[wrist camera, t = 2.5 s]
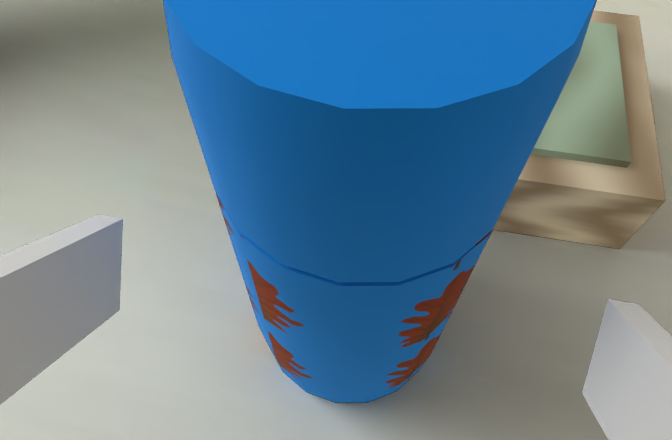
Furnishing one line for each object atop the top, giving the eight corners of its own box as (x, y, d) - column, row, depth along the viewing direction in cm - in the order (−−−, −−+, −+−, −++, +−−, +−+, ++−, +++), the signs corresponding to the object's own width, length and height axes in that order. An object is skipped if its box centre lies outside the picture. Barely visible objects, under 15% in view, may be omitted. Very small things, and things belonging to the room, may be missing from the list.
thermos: (428, 241, 38) (555, -168, 16) (446, 405, 32) (671, 115, 11) (266, 242, 38) (179, -169, 16) (256, 407, 32) (107, 118, 11)
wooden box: (382, 212, 39) (391, 154, 33) (408, 51, 47) (418, -18, 41) (628, 250, 38) (681, 196, 32) (611, 77, 46) (651, 10, 40)
